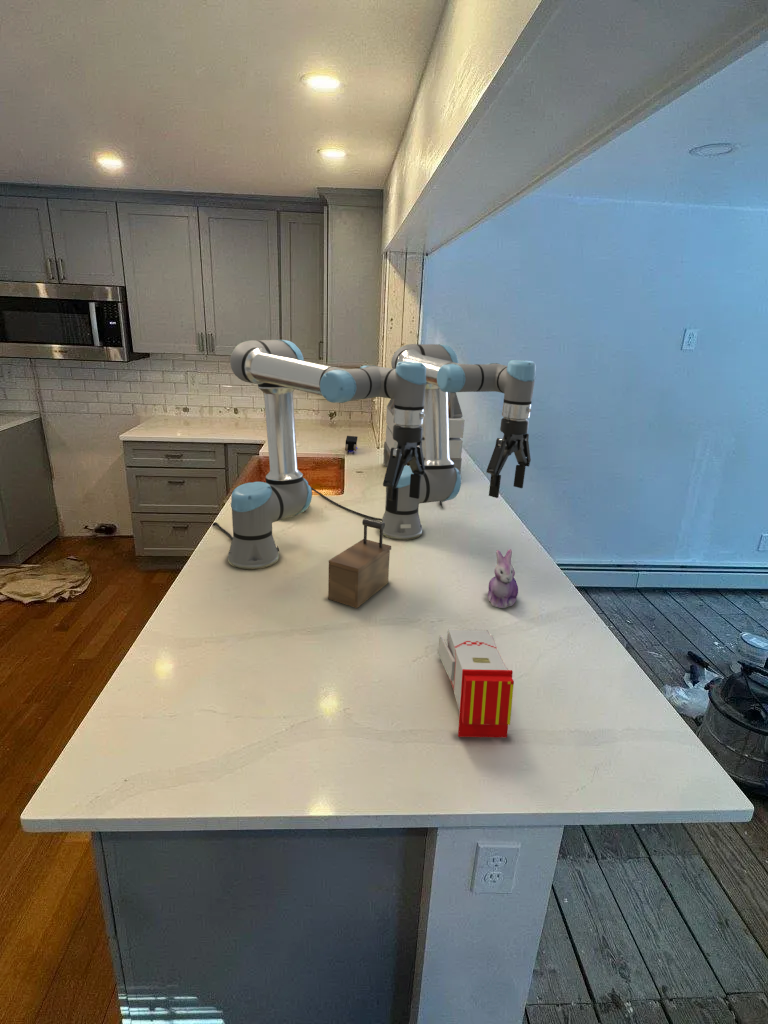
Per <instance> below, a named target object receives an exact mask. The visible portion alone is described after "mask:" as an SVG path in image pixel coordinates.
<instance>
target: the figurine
mask: <svg viewBox="0 0 768 1024" xmlns="http://www.w3.org/2000/svg"><path fill="white" fill-rule="evenodd" d="M495 555H496V566H495V567H494V573H493V574H494V576H493V577H492V578H491V579H490V580H489V582H488V591H487V600H488V601H489V603H490V605H491V606H492V607H495V608H500V609H506V608H507V607H511V606H513V605H514V604H515V603H516V601H517V597H518V595H519V585H518V583H517V579H515V575H516V571H515V567H514V565H513V564H512V558H513V557H512V556H513V550H512V548H509V549H508V550H507V551H506V553H505V555H504V556H503V554H502V551H500V550H499V549H497V550H496V551H495Z"/></svg>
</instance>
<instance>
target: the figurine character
mask: <svg viewBox="0 0 768 1024" xmlns="http://www.w3.org/2000/svg"><path fill="white" fill-rule="evenodd" d="M358 437H359V436H357V435H355V436H354V435H346V438H345V447H344V450H345V451H346V452H347V454H348V455H349V454H350V453H352V455H354V454H355V452H356V451H357V450H358V447H357V446H358V445H357V444H358Z"/></svg>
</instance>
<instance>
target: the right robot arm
mask: <svg viewBox="0 0 768 1024" xmlns="http://www.w3.org/2000/svg"><path fill="white" fill-rule="evenodd" d="M403 361H408V362H420V363H423V364H424V365H425V366H426V388H425V398H424V414H425V417H424V440H425V460H424V464H425V470H424V471H425V474H424V475H421V480H420V495H419V499H416V498H411V497H409V493H410V477H411V474H414V473H412V470H411V468H410V466H407V465H406V466H404V469H403V471H402V474H401V477H400V479H399V482H398V485H397V488H398V505H397V512H396V513H394V512H390V511H386V509H387V487H385V504H384V505H385V507H384V508H385V509H384V513H383V515H382V518H380V517H375V516H370V515H367V514H364V513H361V512H359V511H355V510H353V509H350V508H348V507H346V506H344V505H342V504H340V503H338V502H336V501H334V500H332V499H330V498H328V497H327V496H326V495H324V494H322V493H321V492H319V491H318V490H316V489H315V488H313V487H312V486H310V487H311V489H312V492H315V493H316V494H318V496H321V497H322V498H324V499H325V500H327V501H328V502H330V503H331V504H333V505H336V506H337V507H338V508H341V509H343V510H345V511H348V512H350V513H353V514H355V515H358V516H361V517H364V518H367V519H372V520H376V521H380V522H384V523H385V527H384V529H383V538H384V537H385V538H387V539H389V540H395V541H410V540H415V539H418V538H420V537H421V536H422V535H423V525H422V524H421V518H420V515H419V507H420V506H419V505H420V504H428V503H437V502H438V503H439V502H440V501H441V502H442V503H444V502H447V501H452V500H454V499H455V498H456V497H457V496H458V494H459V493H460V490H461V487H462V475H461V474H459V473H460V472H459V470H458V469H457V468H455V467H454V463H453V462H452V461H451V460H450V458H449V419H448V392H450V393H456V394H457V393H489V392H493V393H502V394H503V403H502V409H501V410H502V411H501V417H502V418H501V419H500V428H499V431H500V433H502V434H503V437H502V438H500V437H497V438H496V440H495V446H494V448H493V451H492V454H491V457H490V460H489V463H488V465H487V468H486V474H489V475H490V481H489V489H488V496H489V497H492V498H496V499H498V498H499V496H500V487H501V479H502V475H501V472H502V470H503V468H504V466H505V464H506V462H507V460H508V458H509V456H511V455H512V454H514V456H515V459H516V462H517V464H516V465H515V470H514V471H515V472H514V478H513V487H515V488H519V489H523V488H524V483H525V474H526V467H528V468H529V467H530V464H531V460H532V459H531V451H530V450H531V449H530V443H529V437H530V433H528V431H529V426H530V421H529V419H530V416H531V412H532V401H533V395H534V390H535V389H534V388H535V382H536V377H537V376H536V372H537V371H536V370H537V365H536V363H535V362H534V361H533V360H532V361H531V360H525V359H524V360H523V359H512V360H511V359H510V360H509V361H508V363H507V365H505V364H501V363H498V362H488V363H483V364H481V363H479V364H478V363H474V364H472V363H471V364H469V363H467V364H466V363H459V358H458V355H457V353H456V351H455V350H454V348H453V347H452V346H450V345H447V344H441V343H435V344H434V343H433V344H432V343H429V344H426V343H425V344H424V343H419V344H417V343H409V344H405V345H403V346H400V347H399V348H397V349H396V350H395V351H394V353H393V355H392V357H391V361H390V362H391V364H390V365H391V368H392V369H396V365H397V363H398V362H403ZM378 533H380V529H378Z"/></svg>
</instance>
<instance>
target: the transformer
mask: <svg viewBox="0 0 768 1024" xmlns="http://www.w3.org/2000/svg"><path fill="white" fill-rule="evenodd" d="M385 414H386V415H385V423H386V428H385V438H384V442H383V466H384V467H387V466H388V462H389V459H390V451H391V448H397V444H398V443H397V441H395V440H394V439H393V426H394V425H395V423H393V418H394V399H390V400H389V402H388V404H387V405H386V413H385ZM448 419H449V458H450V460H451V461H452V462H453V463H454V467H455V468H457V469H458V470H459V472H460V473H459V474H460V475H461V472H462V461H463V460H462V453H463V442H464V441H463V440H462V439H463V438H464V431H465V430H464V429H465V419H464V418H463V411H462V408H461V405H460V402H459V398H458V395H457V392H456V393H450V392H448ZM420 426H422V428H423V432H422V451H423V458H424V460H425V440H424V418H423V424H422V425H420ZM406 466H410V465H409V462H408V463H407V465H406ZM420 466H421V465H420Z"/></svg>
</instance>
